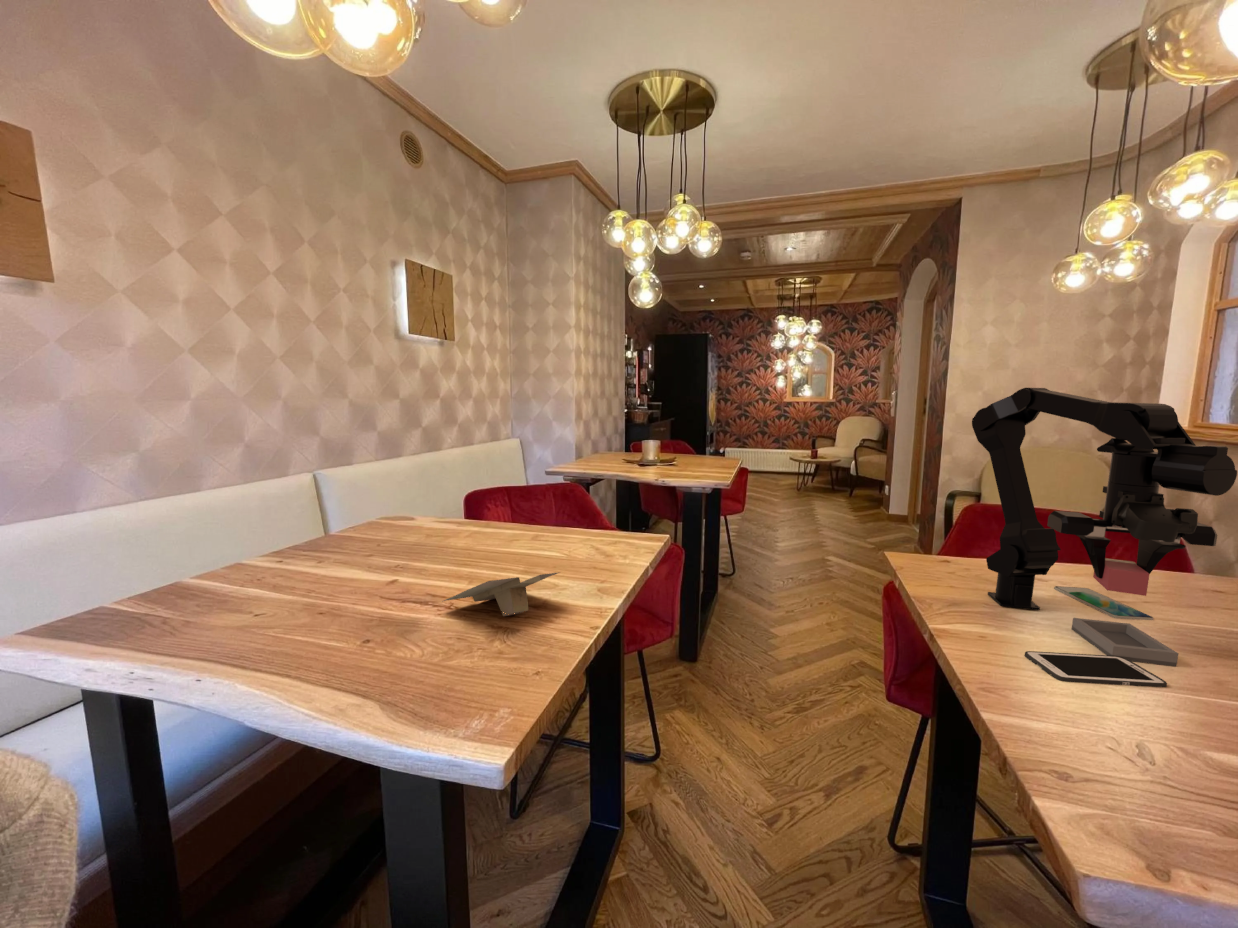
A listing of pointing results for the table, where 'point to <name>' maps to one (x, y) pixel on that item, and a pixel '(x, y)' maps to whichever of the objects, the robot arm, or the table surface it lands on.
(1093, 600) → the smartphone
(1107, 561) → the card box
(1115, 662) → the cell phone
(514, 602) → the grey winged bracket
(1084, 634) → the pocket tray
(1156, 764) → the table surface
